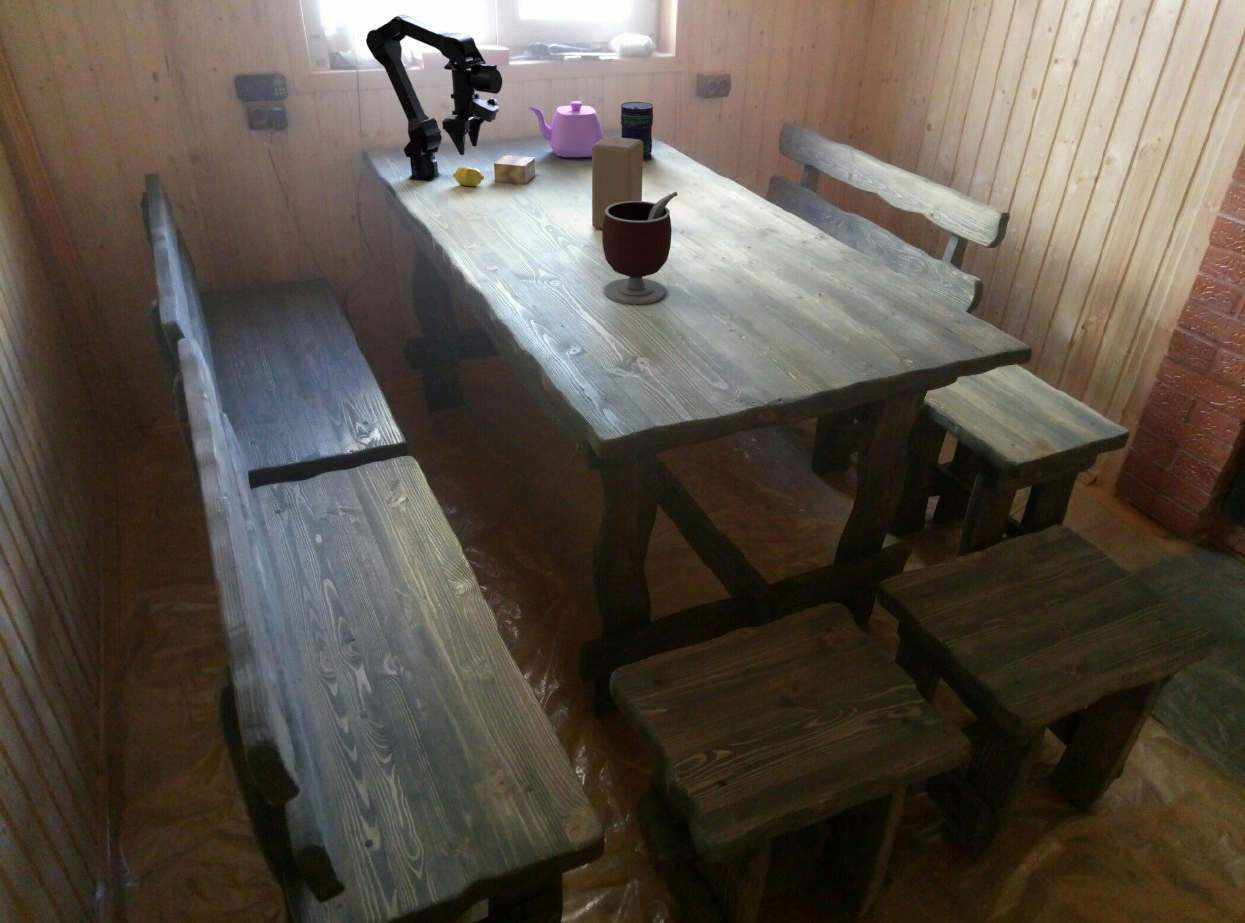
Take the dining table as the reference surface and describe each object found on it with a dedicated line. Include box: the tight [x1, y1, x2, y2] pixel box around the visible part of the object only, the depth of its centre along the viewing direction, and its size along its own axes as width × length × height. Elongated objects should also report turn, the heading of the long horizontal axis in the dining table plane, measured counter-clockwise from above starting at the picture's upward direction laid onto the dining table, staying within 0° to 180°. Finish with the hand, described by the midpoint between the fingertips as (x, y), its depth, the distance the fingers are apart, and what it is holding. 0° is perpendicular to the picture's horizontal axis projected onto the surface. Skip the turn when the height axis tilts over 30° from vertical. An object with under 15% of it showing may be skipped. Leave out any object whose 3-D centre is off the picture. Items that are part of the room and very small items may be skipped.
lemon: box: [452, 166, 485, 187], centre depth 241 cm, size 9×5×5 cm, turn 77°
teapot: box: [527, 100, 604, 159], centre depth 268 cm, size 23×21×15 cm
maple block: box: [493, 154, 536, 185], centre depth 247 cm, size 9×9×5 cm
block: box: [591, 135, 644, 230], centre depth 211 cm, size 10×10×20 cm
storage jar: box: [620, 101, 654, 162], centre depth 265 cm, size 10×10×15 cm
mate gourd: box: [601, 191, 678, 305], centre depth 177 cm, size 16×14×20 cm
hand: (468, 150), depth 237 cm, fingers open, 9 cm apart
